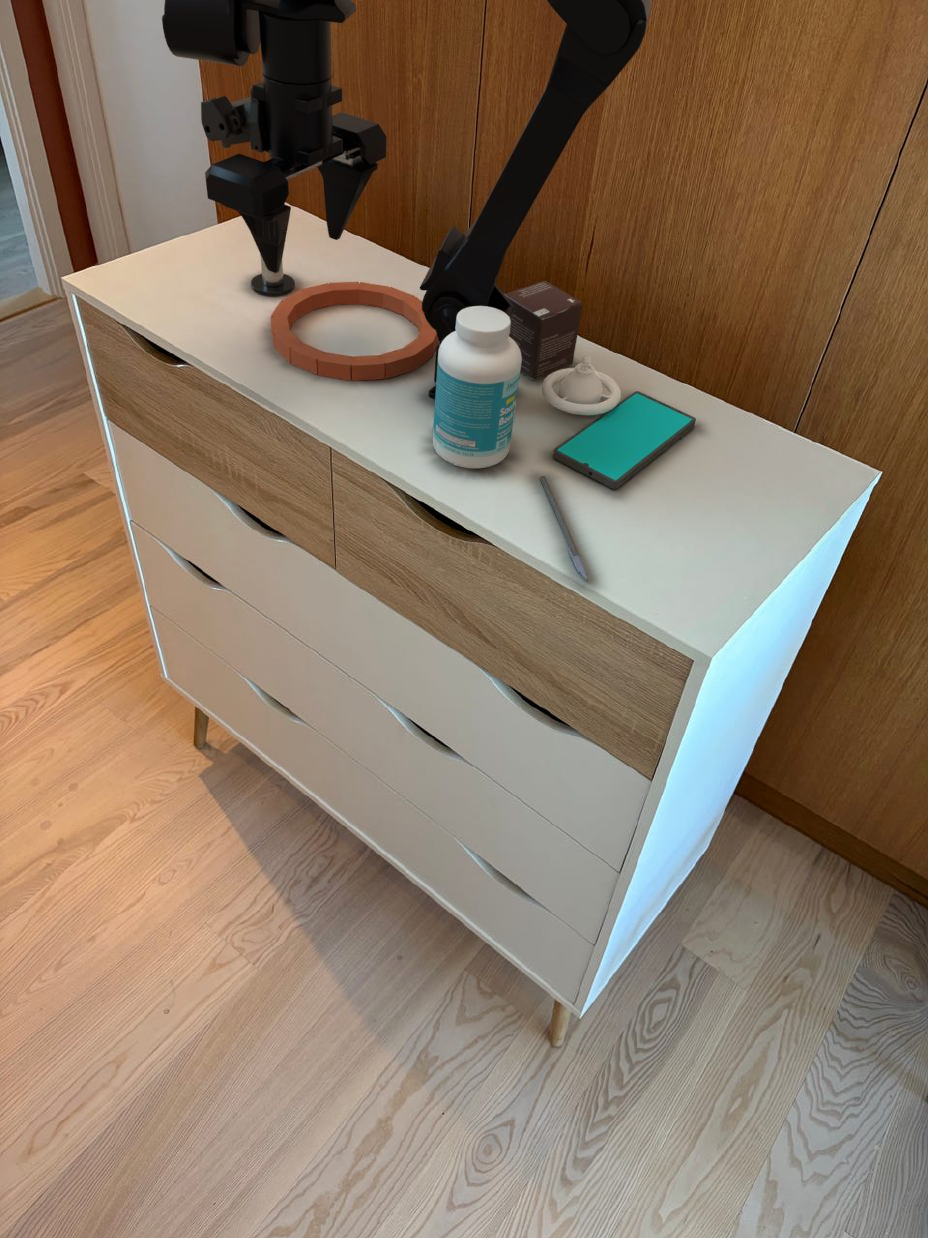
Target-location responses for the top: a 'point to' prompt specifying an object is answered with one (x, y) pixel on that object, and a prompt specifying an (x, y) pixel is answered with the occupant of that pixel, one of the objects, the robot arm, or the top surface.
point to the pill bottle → (476, 389)
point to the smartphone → (624, 439)
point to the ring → (344, 364)
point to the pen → (565, 530)
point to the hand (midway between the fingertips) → (304, 254)
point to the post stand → (272, 282)
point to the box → (544, 327)
